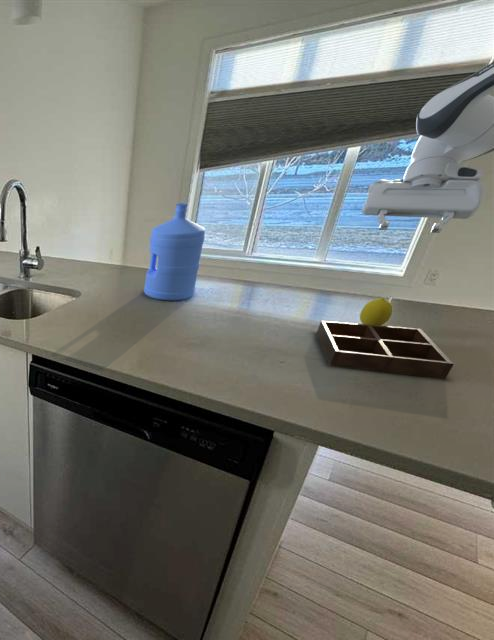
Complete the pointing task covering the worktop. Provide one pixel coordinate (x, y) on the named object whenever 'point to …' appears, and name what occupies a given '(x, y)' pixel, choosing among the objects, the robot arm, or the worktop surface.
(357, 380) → the worktop surface
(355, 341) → the grid
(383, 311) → the lemon
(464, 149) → the robot arm
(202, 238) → the water jug
